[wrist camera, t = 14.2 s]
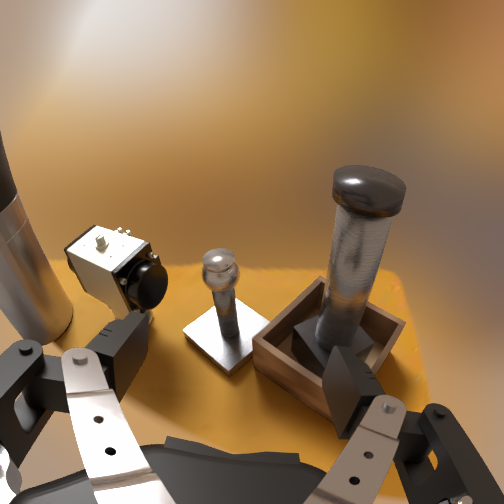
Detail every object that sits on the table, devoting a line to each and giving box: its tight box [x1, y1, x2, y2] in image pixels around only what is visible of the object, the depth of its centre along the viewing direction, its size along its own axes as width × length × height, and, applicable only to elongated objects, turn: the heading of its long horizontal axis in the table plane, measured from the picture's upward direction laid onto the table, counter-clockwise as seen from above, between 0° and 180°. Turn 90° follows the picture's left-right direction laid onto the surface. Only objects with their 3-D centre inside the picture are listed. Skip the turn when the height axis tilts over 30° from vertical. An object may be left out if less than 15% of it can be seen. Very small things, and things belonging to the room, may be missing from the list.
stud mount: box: [183, 248, 270, 376], centre depth 27 cm, size 7×7×11 cm
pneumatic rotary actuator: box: [64, 225, 168, 323], centre depth 29 cm, size 6×12×12 cm, turn 65°
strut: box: [291, 165, 406, 379], centre depth 20 cm, size 5×5×18 cm
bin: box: [252, 276, 406, 423], centre depth 25 cm, size 10×10×5 cm
